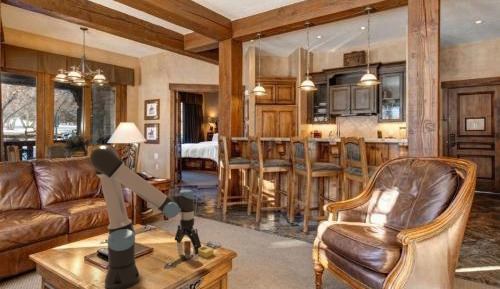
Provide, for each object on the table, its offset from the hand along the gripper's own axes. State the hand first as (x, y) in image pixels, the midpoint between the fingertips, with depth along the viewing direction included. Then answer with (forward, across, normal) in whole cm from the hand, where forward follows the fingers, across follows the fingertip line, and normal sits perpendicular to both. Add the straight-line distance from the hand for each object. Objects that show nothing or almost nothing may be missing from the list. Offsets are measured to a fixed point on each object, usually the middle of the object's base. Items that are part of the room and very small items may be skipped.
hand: (187, 256), depth 169 cm
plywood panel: (+2, +2, -11) cm, 11 cm away
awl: (+2, 0, 0) cm, 2 cm away
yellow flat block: (+1, -4, -9) cm, 10 cm away
